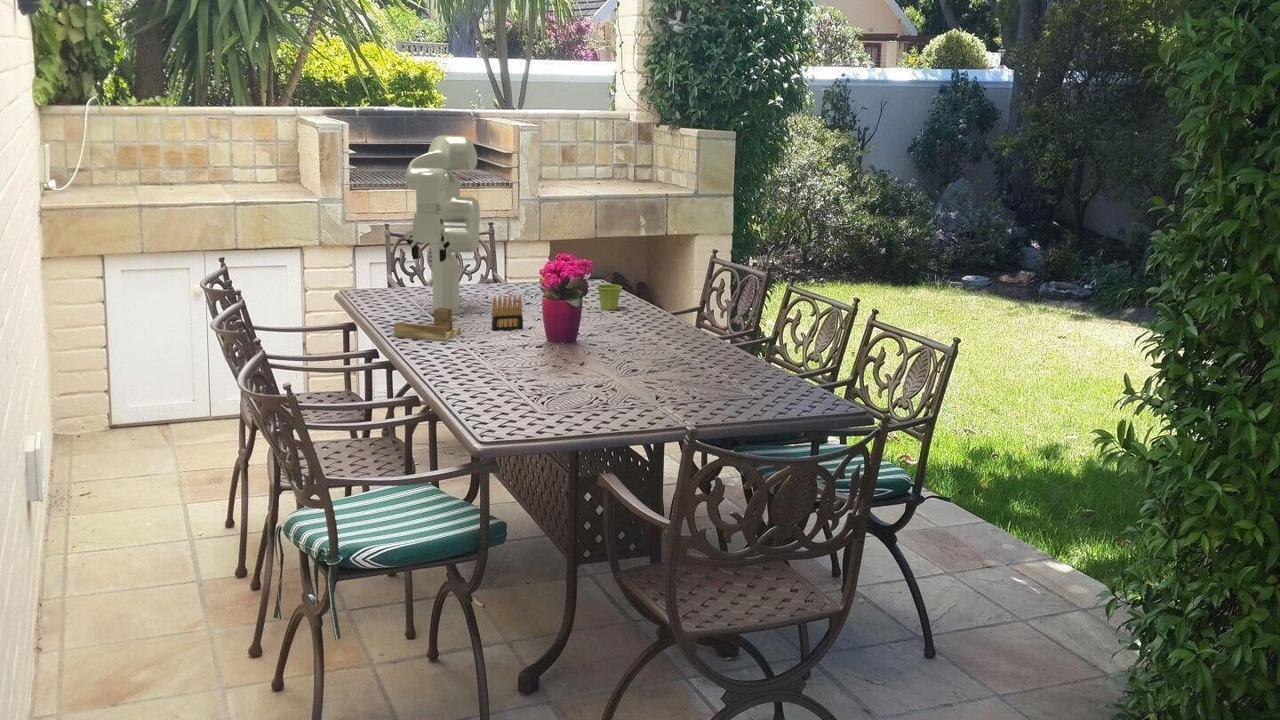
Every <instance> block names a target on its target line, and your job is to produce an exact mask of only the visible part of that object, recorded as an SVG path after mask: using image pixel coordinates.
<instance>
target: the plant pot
mask: <svg viewBox="0 0 1280 720" xmlns="http://www.w3.org/2000/svg"><path fill="white" fill-rule="evenodd" d="M596 288H597V291H598V293H599V295H598V296H599V305H600V309H601V310H603V311H615V310H618V307H619V300H620V293H621V291H622V289H623V286H622V285H618V284H613V283H611V284H608V283H607V284H605V283H604V284H603V283H602V284H598V285H597V286H596Z"/></svg>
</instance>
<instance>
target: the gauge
mask: <svg viewBox="0 0 1280 720" xmlns="http://www.w3.org/2000/svg"><path fill="white" fill-rule="evenodd" d="M456 321H457V315H452V309H450V308H438V309H436V310H434V314H433V325H434V326H442V327H446V332H448V331H450V330H452V327H453V322H456Z"/></svg>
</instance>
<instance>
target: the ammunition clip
mask: <svg viewBox="0 0 1280 720" xmlns="http://www.w3.org/2000/svg"><path fill="white" fill-rule="evenodd" d="M502 299H503V300H502ZM512 300H513V301H512ZM517 300H518V301H517ZM497 301H498V302H497ZM522 301H523V300H522V296H521V295H520V294H519V295H518V299H517V296H516V294H514V295H513V299H512V295H509V296H508V300H507V297H506V295H504V296H503V298H502V296H501V295H499V296H498V299H497V297H496V295H494V296H493V299H492V309H491V311H492V312H491V313H492V314H491V315H492V316H491V331H492V330H493V332H497V331H498V332H499V330H503V331H516V330H515V329H522V330H524V320H523V319H524V318H523V317H524V316H523V304H522V303H523V302H522Z"/></svg>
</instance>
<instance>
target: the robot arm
mask: <svg viewBox="0 0 1280 720" xmlns="http://www.w3.org/2000/svg"><path fill="white" fill-rule="evenodd" d="M477 165H478V154H477V150H476V147H475V145H474V144H473V142H472V140H471V139H470V138H469V137H467V136H464V135H447V134H446V135H438V136H435V137H434V138H433V139H432V141H431V143H430V145H429V148H428V151H427V152H426V153H424V154H422V155H420V156H418V157H415V158H413V159H412V160H411V161H410V162H409V164H408V166H407V169H406V171H405V176H404V177H405V180H404V182H405V185H406V187H407V188H408V189H409V190H410V191H415V199H416V201H415V204H416V207H415V208H416V212H414V215H413V222H412V229H411V230H409V231H407V232H405V233H404V234H403V237H404V239H405V240H406V243H407V244H408V245H409V247H410V249H411V256H412V260H413V261H414V260H418V259H419V257H420V256H419V246H418V245H419V244H430V250H431V259H432V260H431V261H432V265H431V267H432V307H430V308H428V313H430V314H432V315H434V310H436V309H438V308H450V309H452V316H456V315H461V314H463V313H464V312H465V309H464V308H463V307H461V306H460V304H462V302H463V298H461V297H460V263H459V261H458V259H457V258H456V257H455V255H454V254H453V253H474V252H476V251H477V250H478V248H479V242H480V241H479V239H480V218H481V217H480V216H481V211H480V203H479V201H478V199H476V198H475V197H472V196H460V194H461V184H460V182H459V180H458V179H457V177H456V175H454V174H453V173H452V171H461V172H462V171H464V172H467V171H473V170H475V168H476V167H477ZM445 223H446V224H447V223H448V224H449V225H448V224H447V225H445ZM450 224H465V225H450ZM411 235H412V238H411Z"/></svg>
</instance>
